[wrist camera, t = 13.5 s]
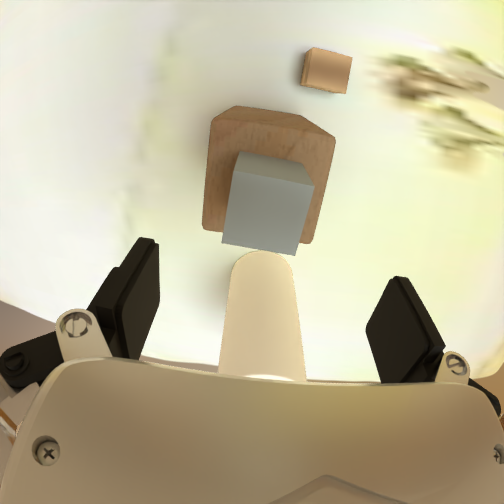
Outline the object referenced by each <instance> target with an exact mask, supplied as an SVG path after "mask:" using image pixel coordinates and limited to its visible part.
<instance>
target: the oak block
mask: <svg viewBox="0 0 504 504" xmlns="http://www.w3.org/2000/svg"><path fill="white" fill-rule="evenodd" d="M351 63H352V57H349V56H345V55H342V54H338V53H334V52H331V51H327V50H323V49H318V48H314V47H313V48H311V49H310V50H309V51H308V52H307V53H306V55H305V61H304V67H303V72H302V78H301V83H300V85H302V86H306V87H311V88H316V89H320V90H324V91H328V92H332V93H343V94H346V90H347V85H348V79H349V74H350V68H351Z"/></svg>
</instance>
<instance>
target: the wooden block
mask: <svg viewBox="0 0 504 504" xmlns="http://www.w3.org/2000/svg"><path fill="white" fill-rule="evenodd" d="M335 144H336V140H335V137H333V136H332V135H330V134H329V133H327V132H326V131H324V130H323V129H321V128H320V127H318V126H317V125H315V124H314V123H312V122H310V121H309V120H307V119H306V118H304V117H302V116H300V115H295V114H290V113H284V112H278V111H271V110H265V109H258V108H250V107H242V106H234V107H232V108H230V109H229V110H227V111H225V112H223V113H222V114H220V115H218V116H217V117H215V118H214V119H213V120H212V122H211V129H210V138H209V148H208V158H207V168H206V179H205V190H204V203H203V216H202V226H203V229H205V230H209V231H216V232H223V230H224V224H225V218H226V212H227V206H228V200H229V194H230V188H231V182H232V176H233V171H234V168H235V164H236V161H237V158H238V155H239V152H240V151H243V152H248V153H254V154H259V155H264V156H269V157H274V158H279V159H284V160H289V161H294V162H298V163H302V164H303V166H304V168H305V169H306V171H307V173H308V175H309V177H310V179H311V181H312V182H313V184H314V186H315V188H314V191H313V195H312V199H311V202H310V206H309V209H308V213H307V216H306V220H305V223H304V227H303V230H302V234H301V237H300V240H299V243H304V244H310V243H311V241H312V240H313V237H314V233H315V229H316V225H317V221H318V217H319V213H320V209H321V205H322V201H323V197H324V192H325V188H326V184H327V180H328V175H329V171H330V166H331V162H332V157H333V153H334V148H335Z"/></svg>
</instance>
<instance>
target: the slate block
mask: <svg viewBox="0 0 504 504" xmlns="http://www.w3.org/2000/svg"><path fill="white" fill-rule="evenodd" d="M314 188H315V186H314V184H313V182H312V181H311V179H310V177H309V175H308V173H307V171H306V169H305V168H304V166H303V164H302V163H298V162H294V161H289V160H284V159H279V158H274V157H269V156H264V155H259V154H254V153H248V152H243V151H240V152H239V155H238V158H237V161H236V164H235V168H234V171H233V176H232V182H231V188H230V194H229V200H228V206H227V212H226V218H225V224H224V230H223V237H222V243H225V244H230V245H236V246H242V247H248V248H253V249H259V250H265V251H270V252H276V253H282V254H287V255H293V256H295V254H296V250H297V247H298V244H299V240H300V237H301V234H302V230H303V227H304V223H305V220H306V216H307V213H308V209H309V206H310V202H311V199H312V195H313V191H314Z"/></svg>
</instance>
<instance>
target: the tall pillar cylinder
mask: <svg viewBox="0 0 504 504" xmlns="http://www.w3.org/2000/svg"><path fill="white" fill-rule="evenodd" d="M218 373H219V374H227V375H235V376H243V377H252V378H262V379H273V380H285V381H299V382H307V379H306V371H305V362H304V354H303V346H302V338H301V331H300V323H299V316H298V309H297V302H296V295H295V288H294V281H293V274H292V270H291V267H290V265H289V263H288V262H287V261H286V260H285V259H284V258H283V257H281V256H280V255H278V254H276V253H273V252H270V251H254V252H251V253H248V254H246V255H244V256H242V257H241V258H240V259H239V260H238V261H237V262H236V263H235V265H234V266H233V269H232V273H231V279H230V286H229V293H228V300H227V307H226V314H225V322H224V329H223V336H222V344H221V351H220V358H219V366H218Z"/></svg>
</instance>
